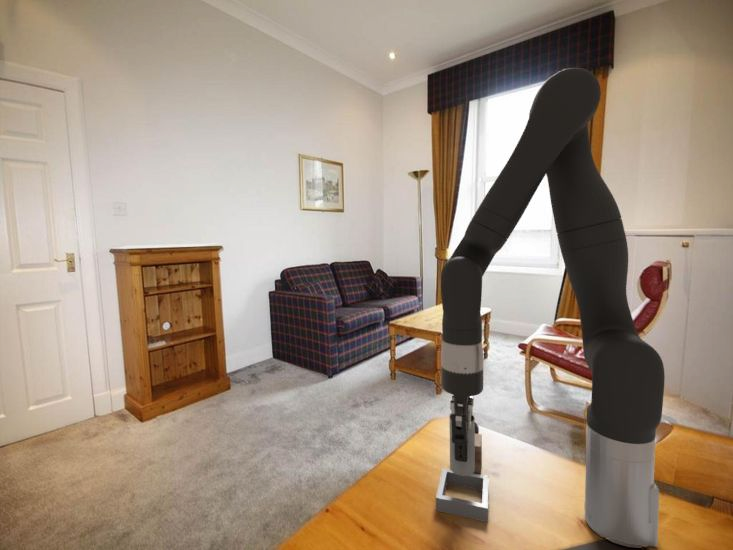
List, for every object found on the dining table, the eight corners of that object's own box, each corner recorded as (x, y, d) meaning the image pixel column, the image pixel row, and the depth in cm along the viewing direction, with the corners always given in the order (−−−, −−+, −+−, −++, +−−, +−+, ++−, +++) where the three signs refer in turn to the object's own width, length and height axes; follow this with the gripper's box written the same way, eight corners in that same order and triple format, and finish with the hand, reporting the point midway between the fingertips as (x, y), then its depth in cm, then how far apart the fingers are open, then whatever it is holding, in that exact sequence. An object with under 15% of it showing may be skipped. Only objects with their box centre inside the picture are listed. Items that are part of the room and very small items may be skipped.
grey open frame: (488, 488, 70) (488, 476, 70) (487, 522, 61) (487, 508, 61) (442, 479, 73) (442, 467, 73) (436, 510, 65) (435, 497, 64)
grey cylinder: (475, 477, 64) (475, 423, 63) (450, 475, 65) (449, 421, 64) (473, 462, 68) (473, 411, 68) (449, 460, 69) (449, 410, 68)
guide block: (481, 462, 78) (481, 434, 77) (480, 477, 73) (480, 446, 73) (454, 458, 80) (454, 430, 79) (452, 471, 75) (451, 442, 75)
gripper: (481, 380, 57) (481, 480, 58) (484, 354, 70) (484, 435, 72) (435, 376, 60) (436, 471, 61) (446, 351, 73) (447, 430, 74)
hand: (462, 451), depth 66 cm, fingers closed on grey cylinder, 4 cm apart
